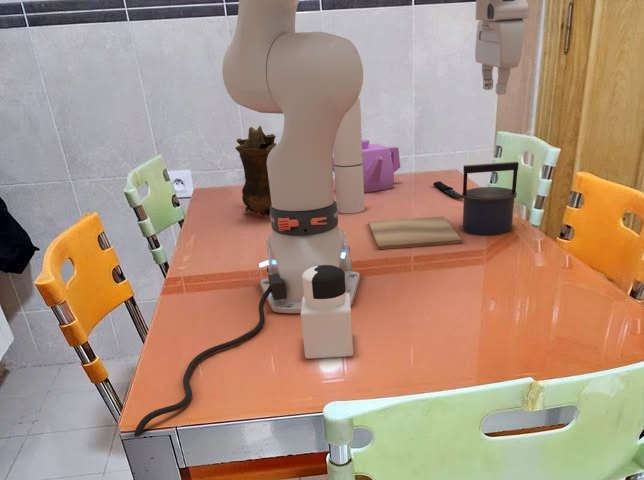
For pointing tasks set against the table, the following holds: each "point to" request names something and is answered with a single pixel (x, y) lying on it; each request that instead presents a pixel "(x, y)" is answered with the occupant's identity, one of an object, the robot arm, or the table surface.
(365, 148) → the teakettle
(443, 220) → the cutting board
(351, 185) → the cylindrical container
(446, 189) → the knife
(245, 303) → the table surface
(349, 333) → the medicine bottle
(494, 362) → the table surface
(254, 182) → the pottery vessel
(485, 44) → the robot arm
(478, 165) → the pot
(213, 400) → the table surface
